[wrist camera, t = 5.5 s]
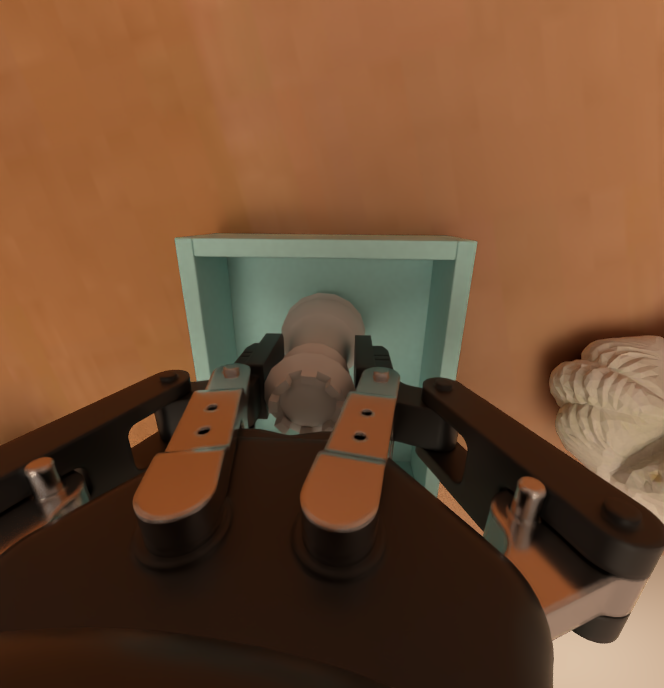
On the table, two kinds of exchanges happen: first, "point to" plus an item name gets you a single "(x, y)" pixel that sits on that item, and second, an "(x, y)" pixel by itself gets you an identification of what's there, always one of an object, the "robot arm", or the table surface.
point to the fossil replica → (616, 414)
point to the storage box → (331, 278)
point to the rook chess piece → (314, 364)
